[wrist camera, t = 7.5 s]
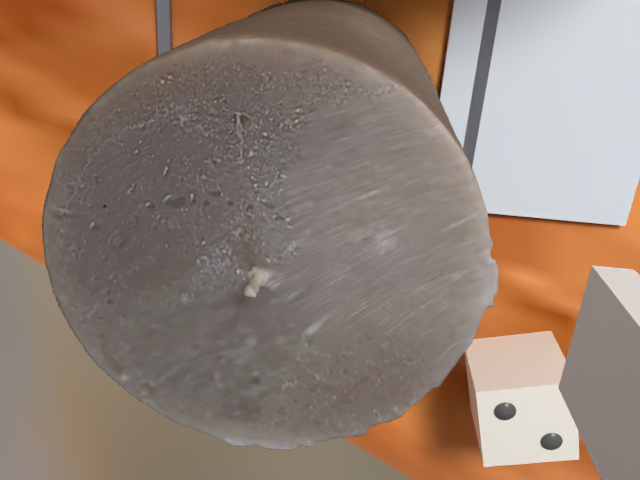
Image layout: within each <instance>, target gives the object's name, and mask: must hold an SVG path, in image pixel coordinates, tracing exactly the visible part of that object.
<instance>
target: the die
mask: <svg viewBox="0 0 640 480" xmlns="http://www.w3.org/2000/svg"><path fill="white" fill-rule="evenodd" d="M465 361H466V370H467V379H468V388H469V397H470V406H471V412H472V417H473V421H474V426H475V430H476V435H477V439H478V444H479V448H480V453H481V457H482V462H483V466H484V467H490V466H503V465H515V464H527V463H540V462H552V461H565V460H577V459H579V438H578V429H577V427H576V424H575V422H574V420H573V418H572V416H571V414H570V412H569V410H568V407H567V405H566V403H565V401H564V399H563V397H562V395H561V392H560V390H559V388H558V387H559V383H560V380H561V376H562V373H563V369H564V365H565V362H566V360H565V358H564V356H563V354H562V352H561V350H560V348H559V346H558V344H557V342H556V340H555V338H554V336H553V334H552V332H551V331H545V332H536V333H527V334H518V335H509V336H500V337H491V338H482V339H473V342H472V344H471V345H470V346H469V347H468V349H467V350H466V351H465Z"/></svg>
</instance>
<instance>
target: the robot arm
mask: <svg viewBox="0 0 640 480" xmlns="http://www.w3.org/2000/svg"><path fill="white" fill-rule="evenodd" d="M558 388H559V390H560V392H561V395H562V397H563V399H564V401H565V403H566V405H567V407H568V410H569V412H570V414H571V416H572V418H573V420H574V422H575V424H576V427H577V429H578V431H579V433H580V435H581V437H582V439H583V442H584V444H585V446H586V448H587V450H588V452H589V454H590V457H591V459H592V461H593V463H594V465H595V467H596V469H597V471H598V474H599V476H600V478H601V480H640V275H639V274H638V273H637V272H636V271H635V270H634V269H623V268H612V267H601V266H592V267H591V271H590V275H589V278H588V282H587V286H586V289H585V293H584V296H583V300H582V304H581V307H580V311H579V315H578V318H577V322H576V325H575V329H574V333H573V336H572V340H571V344H570V347H569V351H568V354H567V358H566V362H565V365H564V369H563V373H562V376H561V380H560V383H559V387H558Z"/></svg>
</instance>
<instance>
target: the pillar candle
mask: <svg viewBox="0 0 640 480" xmlns="http://www.w3.org/2000/svg"><path fill="white" fill-rule="evenodd" d="M42 231H43V245H44V255H45V263H46V267H47V270H48V274H49V278H50V282H51V286H52V289H53V293H54V295H55V297H56V300H57V302H58V305H59V307H60V309H61V310H62V313H63V315H64V317H65V318H66V320H67V322H68V324H69V326H70V328H71V329H72V331H73V332H74V334H75V336H76V337H77V338H78V340H79V341H80V342H81V344H82V345H83V347H84V349H85V350H86V352H87V353H88V355H89V356H90V357H91V358H92V359H93V360H94V362H95V363H96V364H97V365H98V366H99V367H100V368H101V369H102V370H103V371H105V372H106V373H107V375H109V376H110V377H111V378H112V379H114V380H115V381H116V382H117V383H118V384H119V385H121V386H122V387H123V388H124V389H125V390H126V391H127V392H128V393H129V394H130V395H132V396H134V397H136V398H137V399H138V400H139V401H141V402H143V403H145V404H146V405H148V406H149V407H151V408H152V409H154V410H155V411H156V412H158V413H159V414H162V415H164V416H165V417H167V418H169V419H171V420H173V421H174V422H176V423H179V424H181V425H184V426H187V427H191V428H194V429H195V430H197V431H200V432H204V433H207V434H210V435H212V436H215V437H218V438H220V439H221V440H222V441H223V442H225V443H226V442H227V443H229V445H234V446H238V447H243V446H246V447H249V446H251V445H258V446H260V447H261V448H267V449H271V450H277V449H281V450H291V449H295V448H296V447H298V446H306V447H312V446H313V445H314V444H315V443H318V442H322V441H327V440H330V439H337V438H344V437H347V436H353V437H357V436H359V435H365V434H367V430H368V429H369V428H370V427H372V426H375V425H377V424H380V423H388V422H391V421H393V420H395V419H397V418H400V417H401V416H402V415H403V414H404V412H405V411H406V410H408V409H409V408H410V407H411V406H413V405H415V404H416V403H417V402H419V401H420V400H421V399H422V398H423V397H424V396H425V395H426V394H427V393H428V392H429V391H430V390H431V389H432V388H438V387H439V386H440V385H441V384H442V382H443V380H444V379H445V378H446V377H447V375H448V374H449V372H450V371H451V370H452V368H453V367H454V366H455V365H456V364H457V362H458V360H459V359H460V357H461V356H462V355H463V354H464V352H465V351H466V350H467V349H468V347H469V346H470V345H471V344H472V342H473V338H474V336H475V334H476V330H477V328H478V327H479V324H480V321H481V318H482V314H483V312H484V310H485V309H487V308H489V307H494V305H493V298H494V296H495V295H496V293H497V292H498V278H499V276H498V268H497V264H496V260H493V259H492V258H491V257H490V254H491V249H492V246H493V241H492V239H491V237H490V234H489V225H488V213H487V209H486V206H485V203H484V200H483V198H482V194H481V190H480V188H479V185H478V182H477V180H476V177H475V174H474V172H473V170H472V167H471V164H470V162H469V160H468V158H467V156H466V154H465V152H464V149H463V147H462V145H461V143H460V141H459V140H458V138H457V136H456V134H455V132H454V129H453V128H452V125H451V123H450V121H449V118H448V116H447V114H446V112H445V110H444V107H443V105H442V103H441V101H440V99H439V97H438V93H437V90H436V88H435V86H434V85H433V83H432V80H431V77H430V76H429V74H428V72H427V70H426V68H425V66H424V64H423V62H422V60H421V59H420V58H419V56H418V54H417V52H416V51H415V49H414V47H413V46H412V44H411V43H410V41H409V39H408V37H407V36H406V35H405V34H404V33H403V32H402V31H401V30H399V29H398V28H397V27H396V26H395V25H393V24H392V23H391V22H390V21H389V20H387V19H386V18H385V17H383V16H381V15H380V14H378V13H377V12H375V11H371V10H369V9H367V8H365V7H364V6H362V5H359V4H357V3H354V2H350V1H341V0H289V1H287V2H285V4H282V3H279V4H274V5H271V6H269V7H267V8H265V9H263V10H262V11H260V12H255V13H253V14H251V15H249V16H248V18H245V19H241V20H238V21H235V22H232V23H229V24H227V25H225V26H223V27H220V28H218V29H215V30H213V31H210V32H208V33H206V34H205V35H202V36H200V37H198V38H196V39H193V40H191V41H189V42H186V43H184V44H182V45H180V46H177V47H175V48H173V49H171V50H169V51H167V52H165V53H163V54H161V55H159V56H157V57H154V58H153V59H151V60H149V61H147V62H145V63H143V64H142V65H140V66H138V67H137V68H135V69H134V70H132V71H131V72H129V73H128V74H126V75H125V76H124V77H122V78H121V79H120V80H119V81H117V82H116V83H115V84H113V85H112V86H111V87H110V88H109V89H107V90H106V91H105V92H104V93H103V94H102V95H101V96H100V97H99V98H98V99H97V100H96V101H94V103H93V104H92V105H91V106H90V107H89V108H88V109H87V110H86V111H85V113H84V114H83V115H82V117H81V118H80V120H79V121H78V123H77V125H76V127H75V128H74V130H73V131H72V133H71V135H70V137H69V138H68V140H67V142H66V144H65V145H64V146H63V148H62V149H61V150H60V153H59V155H58V158H57V160H56V162H55V165H54V170H53V174H52V178H51V182H50V186H49V189H48V192H47V195H46V199H45V203H44V209H43V219H42Z"/></svg>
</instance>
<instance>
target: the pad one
mask: <svg viewBox="0 0 640 480" xmlns="http://www.w3.org/2000/svg"><path fill="white" fill-rule="evenodd" d="M488 1H490V0H454V2H453V9H452V16H451V22H450V29H449V36H448V43H447V50H446V56H445V63H444V70H443V77H442V84H441V90H440V97H439V99H440V101H441V103H442V105H443V107H444V110H445V112H446V114H447V116H448V118H449V121H450V123H451V125H452V128H453V129H454V132H455V134H456V136H457V138H458V140H459V141H460V143H461V145H462V147H463V145H464V139H465V133H466V127H467V121H468V115H469V109H470V103H471V97H472V91H473V85H474V81H475V80H474V79H475V73H476V67H477V62H478V56H479V55H480V54H479V53H480V52H479V50H480V45H481V40H482V32H484V31H483V26H484V27H485V26H486V25H484V20H485V14H486V8H488V7H487V6H488V5H487V3H488ZM493 3H494V2H493ZM490 5H491V4H490ZM496 6H497V5H496ZM497 7H499V6H497ZM490 8H491V7H490ZM492 9H493V8H491V10H492ZM497 9H498V8H497ZM497 11H498V10H497ZM487 14H488V10H487ZM492 14H493V12H492ZM488 15H489V14H488ZM490 15H491V14H490ZM498 16H499V18H498V24H497V29H494V30H495V31H496V35H495V41H494V42H493V43H492V44H494V46H493V52H492V58H490V59H491V63H490V69H489V70H488V71H489V75H488V80H487V81H486V80H484V81H486V82H487V86H486V92H485V97H484V103H483V109H482V114H481V120H480V122H479V123H480V126H479V131H478V137H477V138H476V140H477V143H476V148H475V154H474V160H473V165H472V170H473V172H474V174H475V177H476V180H477V182H478V185H479V188H480V190H481V194H482V198H483V200H484V203H485V206H486V209H487V213H491V214H502V215H512V216H523V217H534V218H545V219H555V220H566V221H577V222H588V223H598V224H609V225H620V226H626V222H627V219H628V216H629V212H630V209H631V205H632V202H633V198H634V195H635V192H636V188H637V185H638V181H639V178H640V0H502V1H501V7H500V12H499V14H498ZM491 17H493V16H491ZM496 17H497V16H496ZM487 18H488V16H487ZM493 18H494V17H493ZM495 20H496V19H495ZM486 21H487V22H489V21H488V20H487V19H486ZM490 22H491V21H490ZM490 22H489V23H490ZM494 22H495V21H494ZM496 23H497V22H496ZM487 26H489V25H487ZM492 26H493V25H492ZM493 27H494V26H493ZM485 29H486V27H485ZM489 29H490V28H489ZM490 30H491V29H490ZM491 31H492V30H491ZM485 32H486V31H485ZM489 33H490V32H489ZM490 34H491V33H490ZM488 35H489V34H488ZM483 36H484V35H483ZM485 37H486V34H485ZM489 38H492V37H490V36H489ZM483 40H484V39H483ZM484 41H486V39H485V40H484ZM489 41H490V39H489ZM487 42H488V41H487ZM487 42H486V43H487ZM484 43H485V42H484ZM484 43H483V44H484ZM490 45H491V44H490ZM486 47H487V44H486ZM487 50H488V49H487ZM491 50H492V49H491ZM481 51H482V50H481ZM485 51H486V48H485ZM483 52H484V51H483ZM488 53H489V52H488ZM485 54H486V53H485ZM482 56H483V55H482ZM483 57H484V56H483ZM485 58H487V57H485ZM479 59H480V58H479ZM480 60H482V59H480ZM483 60H484V59H483ZM488 62H489V61H488V60H487V63H488ZM478 63H479V62H478ZM485 63H486V62H485ZM487 63H486V64H487ZM478 65H479V64H478ZM481 65H482V63H481ZM488 66H489V65H488ZM483 67H484V66H483ZM483 67H481V69H482V68H483ZM477 68H478V71H480V69H479V68H480V67H477ZM485 71H486V70H485ZM478 73H479V72H478ZM483 73H484V72H483ZM479 75H480V74H479ZM479 75H478V76H479ZM483 75H484V74H483ZM481 77H482V76H481ZM484 77H485V76H483V78H484ZM485 78H486V77H485ZM476 81H477V80H476ZM478 81H479V80H478ZM477 83H478V82H477ZM478 84H479V83H478ZM479 85H481V84H479ZM479 85H478V87H479ZM478 90H479V89H478ZM474 91H476V90H474ZM476 92H477V91H476ZM479 92H480V91H479ZM480 93H481V92H480ZM474 96H475V97H476V96H477V95H474ZM479 97H480V96H479ZM481 97H482V96H481ZM481 97H480V98H481ZM477 101H478V100H477ZM477 101H476V102H477ZM474 105H476V107H477V105H478V104H477V103H475V104H474ZM471 107H472V106H471ZM474 108H475V107H474ZM478 110H479V109H478ZM476 111H477V109H476ZM472 112H474V113H475V111H472ZM470 116H471V115H470ZM474 120H475V119H474ZM477 120H478V119H477ZM468 122H469V121H468ZM471 123H472V122H471ZM476 125H479V124H478V123H477V124H476ZM473 127H474V126H473ZM473 127H472V128H473ZM476 128H477V127H476ZM473 129H475V128H473ZM468 131H469V130H468ZM470 131H471V129H470ZM467 135H468V134H467ZM468 136H469V135H468ZM470 136H471V134H470ZM469 139H470V138H469ZM471 140H472V139H471ZM474 141H475V140H474ZM466 143H467V141H466ZM470 144H471V143H470ZM464 146H465V145H464ZM472 146H473V145H472ZM466 147H467V148H468V146H466ZM469 147H470V146H469ZM471 149H472V148H471ZM467 152H468V151H467ZM468 155H469V154H468ZM466 156H467V154H466ZM471 158H472V156H471ZM472 159H473V158H472ZM469 160H470V159H469Z"/></svg>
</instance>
